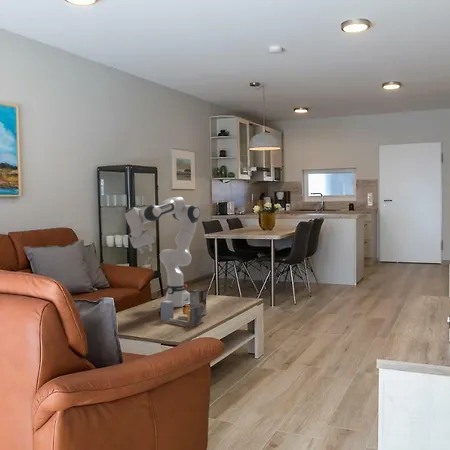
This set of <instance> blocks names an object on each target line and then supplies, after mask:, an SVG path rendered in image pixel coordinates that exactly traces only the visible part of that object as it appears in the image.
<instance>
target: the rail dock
mask: <svg viewBox="0 0 450 450" xmlns="http://www.w3.org/2000/svg"><path fill="white" fill-rule="evenodd" d="M165 324H167V325H172V326H176V325H177V326H178V327H181V326H182V328H186V327H187V329H190V327H191V328H192V327H193V328H194V327H196V326H198V325H202V324H204V320H202V316H201V306H198V307H194V308H191V322H188V316H183V315H178V317H177V318H173V319H172V318H170V319H169V321H165Z"/></svg>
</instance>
